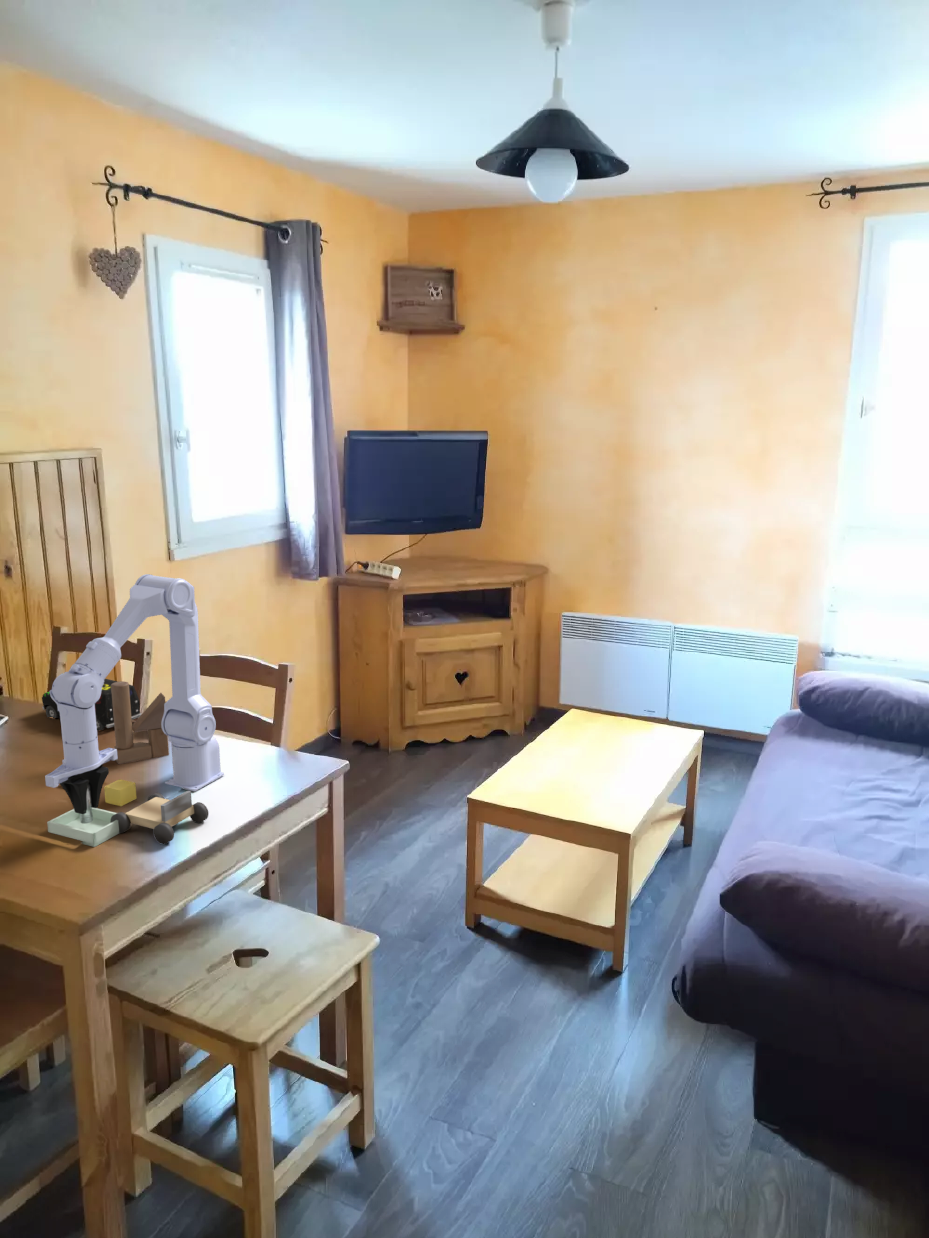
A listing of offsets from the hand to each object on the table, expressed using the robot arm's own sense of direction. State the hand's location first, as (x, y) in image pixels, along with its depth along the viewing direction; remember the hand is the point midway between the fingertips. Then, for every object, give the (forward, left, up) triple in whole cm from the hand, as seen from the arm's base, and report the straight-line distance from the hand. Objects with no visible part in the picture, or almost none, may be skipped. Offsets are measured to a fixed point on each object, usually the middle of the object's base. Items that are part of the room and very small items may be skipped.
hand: (86, 809), depth 160 cm
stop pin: (0, 0, -2) cm, 2 cm away
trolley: (-7, +10, -4) cm, 13 cm away
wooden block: (-30, -16, -4) cm, 35 cm away
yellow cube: (-12, -4, -4) cm, 13 cm away
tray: (0, 0, -4) cm, 4 cm away
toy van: (-46, -46, -5) cm, 65 cm away
